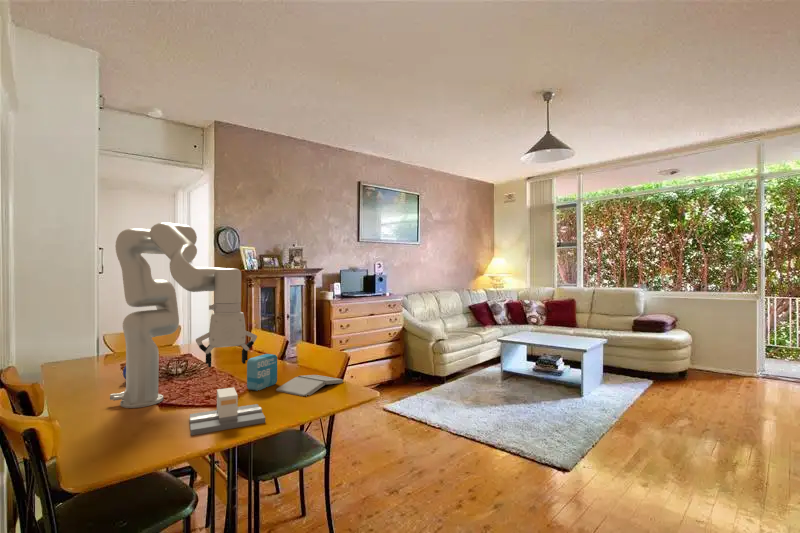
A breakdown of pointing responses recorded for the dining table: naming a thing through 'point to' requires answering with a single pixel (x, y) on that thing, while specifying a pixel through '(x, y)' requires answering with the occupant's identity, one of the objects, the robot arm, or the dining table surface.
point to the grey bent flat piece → (307, 384)
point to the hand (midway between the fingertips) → (226, 364)
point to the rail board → (211, 423)
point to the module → (227, 404)
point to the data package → (261, 371)
